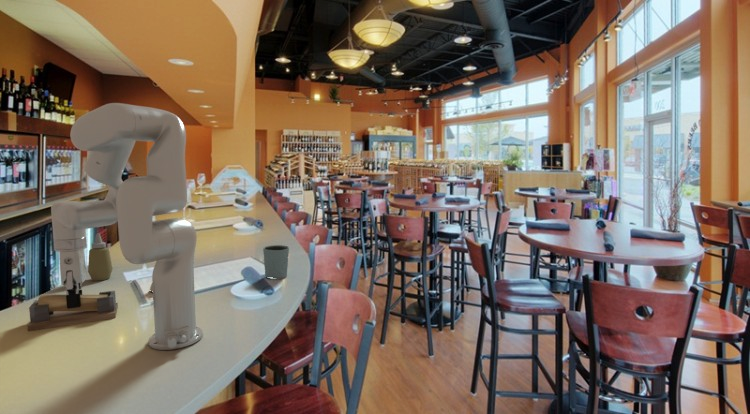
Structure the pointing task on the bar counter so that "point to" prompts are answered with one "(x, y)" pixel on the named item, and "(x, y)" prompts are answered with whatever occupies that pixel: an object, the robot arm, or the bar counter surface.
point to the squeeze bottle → (99, 260)
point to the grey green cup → (276, 261)
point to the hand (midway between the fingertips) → (75, 304)
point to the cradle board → (71, 313)
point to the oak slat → (61, 304)
